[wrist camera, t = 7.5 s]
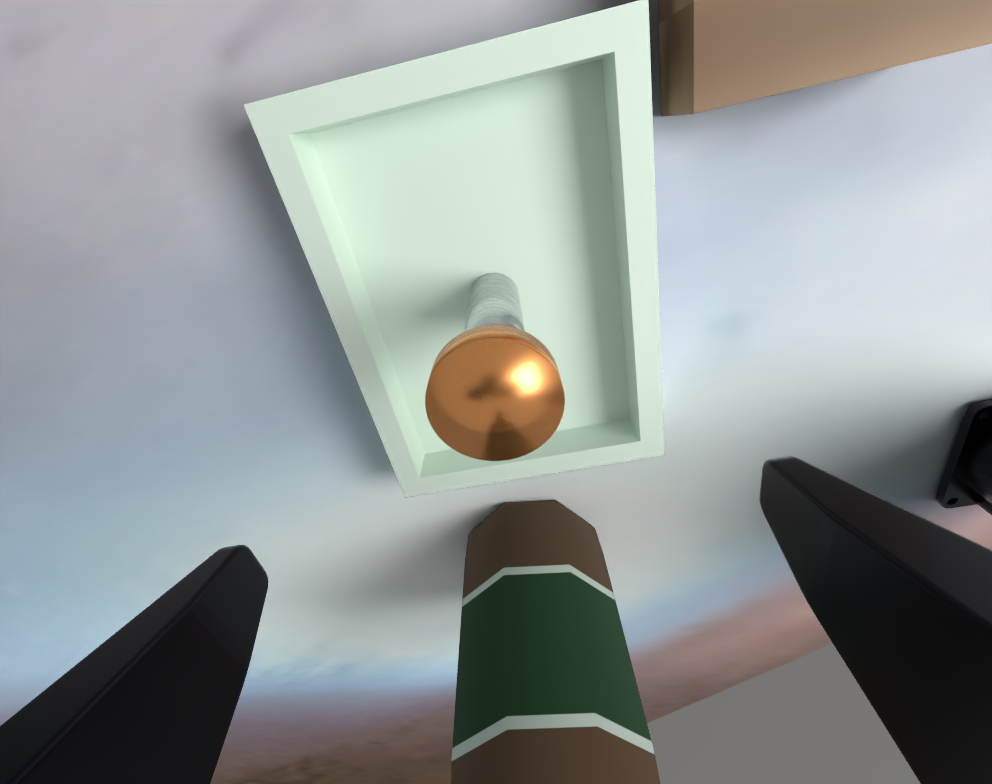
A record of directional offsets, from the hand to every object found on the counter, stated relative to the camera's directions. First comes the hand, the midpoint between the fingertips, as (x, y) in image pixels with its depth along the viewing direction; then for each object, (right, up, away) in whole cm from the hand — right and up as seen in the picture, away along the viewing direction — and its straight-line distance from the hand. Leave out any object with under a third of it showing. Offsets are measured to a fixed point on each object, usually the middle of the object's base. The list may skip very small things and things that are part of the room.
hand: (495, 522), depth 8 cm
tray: (0, +6, +11) cm, 13 cm away
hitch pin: (0, +6, +11) cm, 12 cm away
